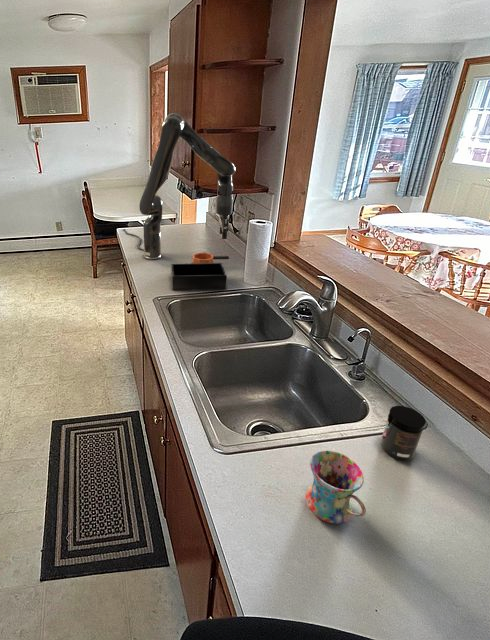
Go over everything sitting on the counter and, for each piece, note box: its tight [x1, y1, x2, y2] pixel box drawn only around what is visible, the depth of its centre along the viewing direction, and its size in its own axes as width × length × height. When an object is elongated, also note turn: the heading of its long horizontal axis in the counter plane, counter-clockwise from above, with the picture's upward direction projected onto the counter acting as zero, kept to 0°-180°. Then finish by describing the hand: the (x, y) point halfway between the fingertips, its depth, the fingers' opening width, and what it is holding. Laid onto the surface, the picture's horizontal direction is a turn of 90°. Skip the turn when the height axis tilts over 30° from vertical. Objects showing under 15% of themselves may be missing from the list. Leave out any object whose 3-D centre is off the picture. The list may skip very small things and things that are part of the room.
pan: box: [192, 252, 230, 264], centre depth 200 cm, size 18×10×4 cm, turn 86°
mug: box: [304, 450, 367, 525], centre depth 77 cm, size 12×9×11 cm
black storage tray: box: [170, 262, 227, 291], centre depth 179 cm, size 15×24×7 cm, turn 86°
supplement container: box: [380, 405, 427, 461], centre depth 90 cm, size 7×7×10 cm
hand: (223, 236), depth 194 cm, fingers open, 8 cm apart
